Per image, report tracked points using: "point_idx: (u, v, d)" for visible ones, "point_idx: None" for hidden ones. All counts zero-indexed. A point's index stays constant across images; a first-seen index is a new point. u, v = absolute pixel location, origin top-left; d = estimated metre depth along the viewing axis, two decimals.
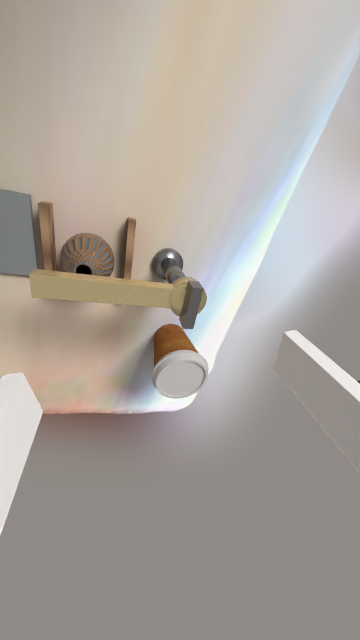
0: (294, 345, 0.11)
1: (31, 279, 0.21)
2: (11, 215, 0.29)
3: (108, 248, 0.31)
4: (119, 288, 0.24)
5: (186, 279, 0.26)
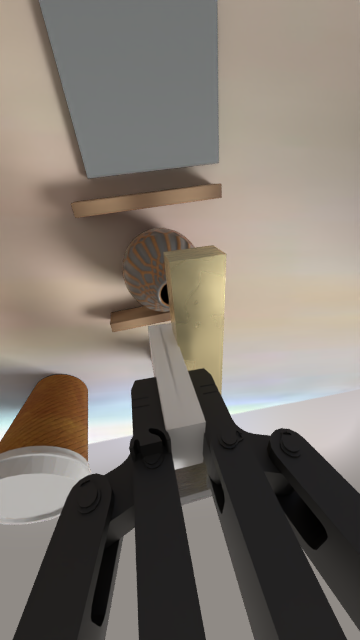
0: (160, 336, 0.12)
1: (214, 259, 0.09)
2: (184, 132, 0.18)
3: None
4: None
5: None
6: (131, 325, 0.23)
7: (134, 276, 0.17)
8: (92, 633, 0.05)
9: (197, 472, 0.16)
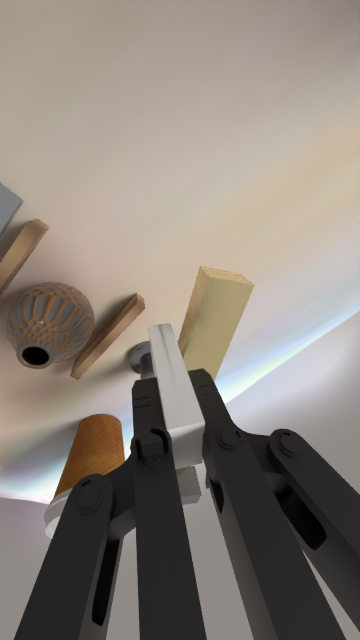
0: (160, 336, 0.12)
1: (244, 286, 0.11)
2: None
3: (91, 325, 0.21)
4: None
5: None
6: (85, 367, 0.26)
7: None
8: (93, 633, 0.05)
9: None
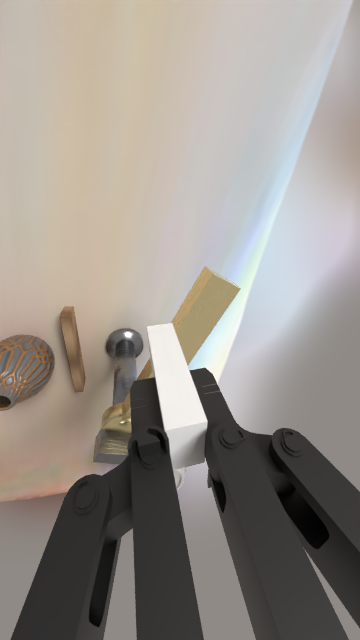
0: (162, 336, 0.12)
1: (234, 287, 0.15)
2: None
3: (38, 355, 0.25)
4: None
5: None
6: (77, 381, 0.30)
7: None
8: (90, 634, 0.05)
9: (120, 440, 0.19)
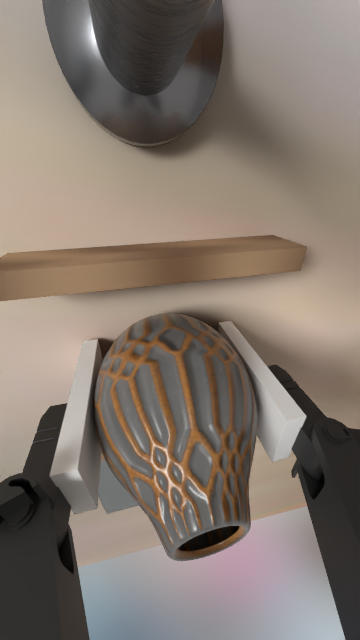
0: (224, 333, 0.12)
1: None
2: None
3: (115, 373, 0.08)
4: None
5: None
6: (260, 260, 0.09)
7: None
8: None
9: None
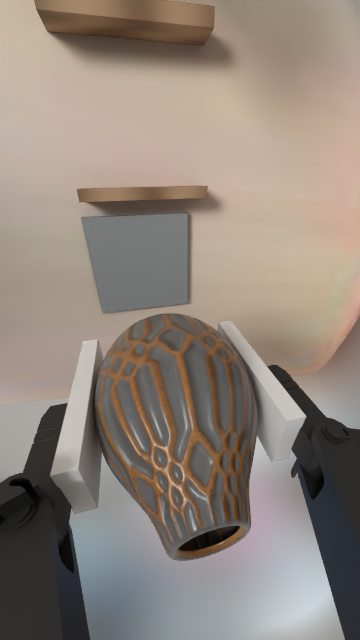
0: (224, 333, 0.12)
1: None
2: (113, 239, 0.24)
3: (116, 373, 0.08)
4: None
5: None
6: (186, 11, 0.16)
7: None
8: None
9: None
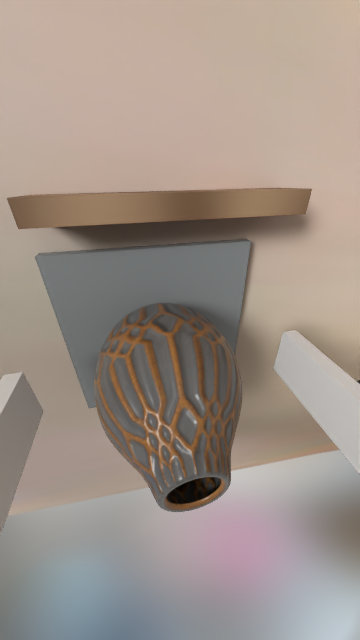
0: (293, 345, 0.11)
1: None
2: (106, 294, 0.12)
3: (114, 352, 0.09)
4: None
5: None
6: None
7: None
8: None
9: None
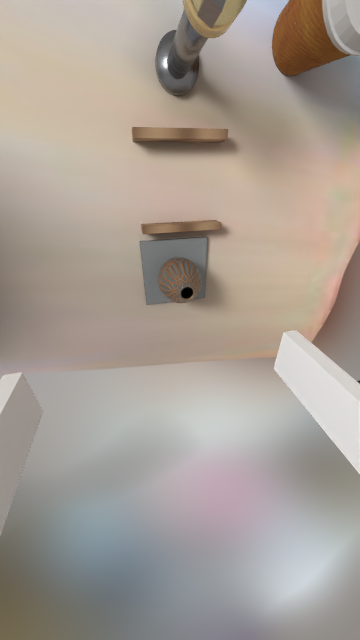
0: (293, 345, 0.11)
1: None
2: (158, 255, 0.37)
3: (166, 267, 0.33)
4: None
5: None
6: (212, 132, 0.28)
7: (198, 290, 0.34)
8: None
9: None
